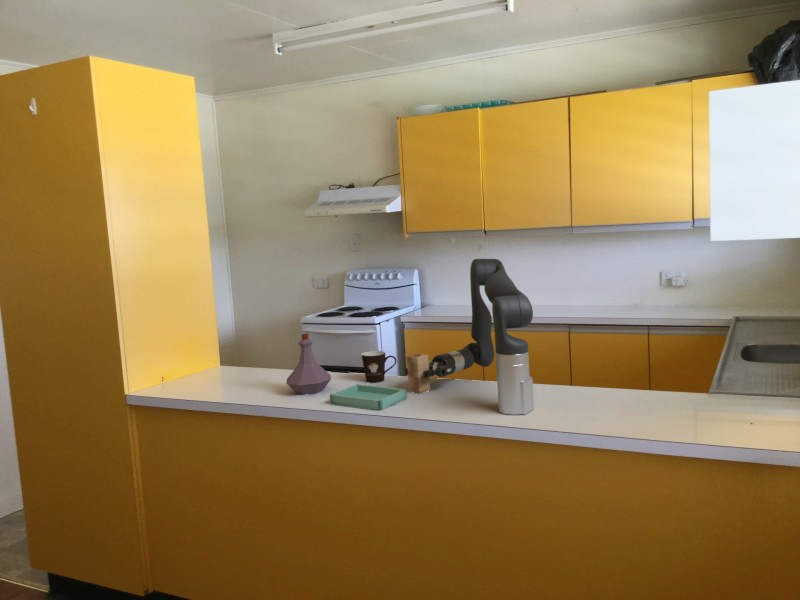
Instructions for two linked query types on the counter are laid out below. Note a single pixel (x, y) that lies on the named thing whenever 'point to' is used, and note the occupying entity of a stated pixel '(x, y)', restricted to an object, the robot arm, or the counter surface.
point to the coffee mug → (375, 365)
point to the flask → (308, 371)
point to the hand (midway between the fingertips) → (414, 373)
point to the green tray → (368, 397)
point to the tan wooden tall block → (418, 373)
